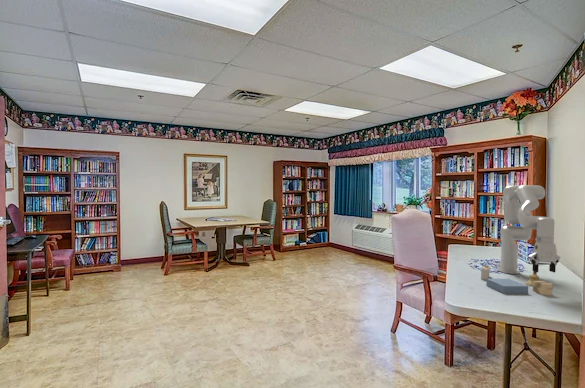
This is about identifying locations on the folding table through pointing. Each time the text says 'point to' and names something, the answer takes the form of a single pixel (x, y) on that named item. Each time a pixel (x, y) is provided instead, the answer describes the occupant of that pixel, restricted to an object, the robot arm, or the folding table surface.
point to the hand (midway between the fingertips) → (543, 271)
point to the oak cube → (542, 287)
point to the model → (485, 272)
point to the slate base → (507, 286)
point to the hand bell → (533, 278)
